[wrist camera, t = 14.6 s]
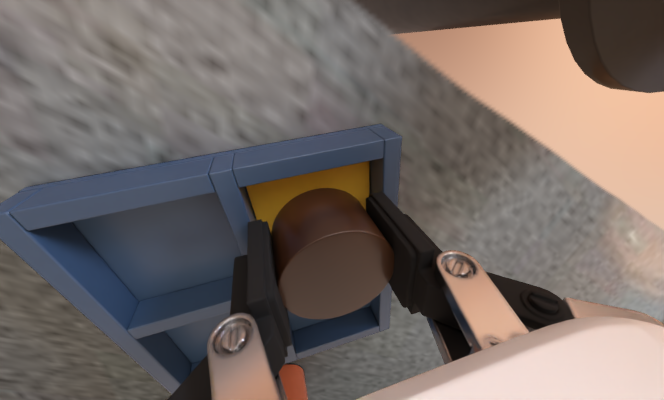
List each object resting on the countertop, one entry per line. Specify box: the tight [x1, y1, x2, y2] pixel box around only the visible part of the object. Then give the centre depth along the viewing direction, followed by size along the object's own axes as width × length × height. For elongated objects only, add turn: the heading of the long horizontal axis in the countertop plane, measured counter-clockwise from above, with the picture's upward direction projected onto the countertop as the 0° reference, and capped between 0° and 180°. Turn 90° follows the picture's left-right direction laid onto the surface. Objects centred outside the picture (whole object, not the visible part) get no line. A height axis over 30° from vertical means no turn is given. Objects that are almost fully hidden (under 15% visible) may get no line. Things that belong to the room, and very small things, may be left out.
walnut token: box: [271, 188, 394, 319], centre depth 10 cm, size 4×4×3 cm
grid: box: [0, 124, 402, 394], centre depth 13 cm, size 14×14×2 cm
